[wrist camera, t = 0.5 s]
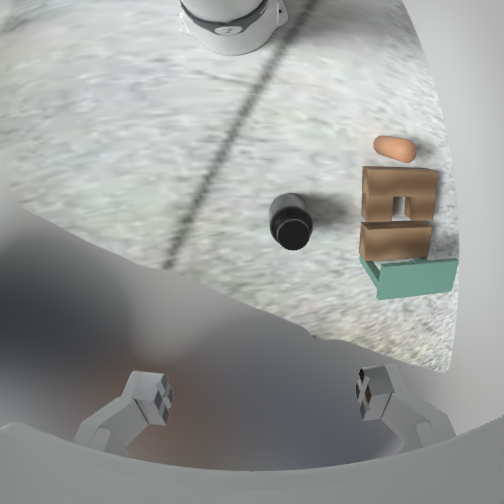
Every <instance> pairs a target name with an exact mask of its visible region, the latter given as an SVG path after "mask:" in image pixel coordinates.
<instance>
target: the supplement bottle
mask: <svg viewBox="0 0 504 504" xmlns="http://www.w3.org/2000/svg"><path fill="white" fill-rule="evenodd" d="M269 217H270V231H271V234H272V236H273V238H274V239H275V240H276V241H277V242H278V243H279V244H280V245H282V247H284V248H285V249H288V250H298V249H301V248H303V247H304V246H305V245H306V244H307V242H308V241H309V238H310V236H311V234H312V231H313V221H312V218H311V215H310V213H309V211H308V209H307V206H306V204H305V203H304V201H303V200H302V199H301V198H300V197H298V196H296V195H294V194H283V195H280V196H278V197H277V198H276V199H275V200H274V201H273V202H272V204H271V206H270V211H269Z"/></svg>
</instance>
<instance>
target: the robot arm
mask: <svg viewBox="0 0 504 504" xmlns="http://www.w3.org/2000/svg"><path fill="white" fill-rule="evenodd" d="M180 7H182V13H180V18H181V19H180V24H179V29H180V31H181V32H182V33H184V34H186V35H189V36H192V37H194V38H195V39H196V40H197V41H198V42H199V43H200V44H201V45H202V46H203V47H205V48H206V49H208V50H210V51H212V52H214V53H217V54H221V55H241V54H245V53H248V52H251V51H253V50H255V49H257V48H259V47H260V46H262V45H263V44H264V43H265V42H266V41H267V40H268V39H269V38H270V36H271V35H272V33H273V32H274V31H275V29H276V28H278V27H280V26H282V25H283V24H285V23H286V22H287V21H288V13H287V11H286V8H285V5H284V3H283V0H180ZM279 11H282V13H279ZM359 376H360V379H359V380H358V381H357V383H356V397H357V401H358V402H359V403H361V406H360V413H361V417H362V420H363V421H366V420H373V419H379V418H381V419H382V420H383V422H385V423H386V424H387V425H388V426H389V427H390V428H391V429H392V430H393V431H394V432H395V433H396V434H397V435H398V436H399V437H400V438H401V439H402V440H403V441H405V442H406V443H405V444H404V446H403V447H402V449H401V450H400V452H399V453H398V454H396V455H392V456H388V457H383V458H379V459H374V460H369V461H364V462H358V463H352V464H346V465H339V466H332V467H323V468H314V469H304V470H303V469H302V470H289V471H223V470H207V469H197V468H187V467H178V466H172V465H164V464H158V463H153V462H147V461H141V460H137V459H132V458H131V457H130V455H129V454H128V453H127V452H126V450H125V449H124V448H125V447H126V446H127V445H128V444H129V443H130V442H131V441H132V440H133V439H134V438H135V437H136V436H137V435H138V434H139V433H140V432H142V430H143V429H145V428H146V427H147V426H148V424H158V425H166V424H167V420H168V417H169V412H168V410H167V409H168V408H170V407H171V406H172V402H173V390H172V388H171V386H170V385H169V384H168V377H167V375H166V374H159V373H149V372H140V371H133V372H132V373H131V375H130V378H129V380H128V382H127V384H126V386H125V389H124V391H123V393H122V396H121V397H117V398H116V399H115V400H113V401H112V402H110V403H109V404H107V405H106V406H105V407H103V408H102V409H100V410H99V411H97V412H96V413H95V414H93V415H92V416H90V417H89V418H88V419H86V420H85V421H83V422H82V423H81V426H80V428H79V430H78V432H77V434H76V436H75V438H74V441H73V443H72V442H69V441H67V440H64V439H61V438H58V437H55V436H53V435H50V434H47V433H45V432H42V431H40V430H37V429H35V428H33V427H30V426H28V425H26V424H23V423H21V422H18V421H14V422H11V423H9V424H7V425H5V426H3V427H1V428H0V504H504V415H503V416H501V417H499V418H497V419H495V420H493V421H491V422H489V423H486V424H484V425H482V426H480V427H477V428H475V429H473V430H470V431H468V432H465V433H463V434H460V435H457V436H456V434H455V432H454V430H453V427H452V425H451V423H450V420H449V418H448V416H447V414H445V413H444V412H442V411H441V410H439V409H437V408H436V407H435V406H433V405H432V404H430V403H429V402H427V401H426V400H424V399H423V398H421V397H420V396H418V395H417V394H415V393H414V392H413V391H411V390H406V387H405V385H404V382H403V380H402V378H401V375H400V373H399V371H398V369H397V366H396V364H394V363H391V364H385V365H378V366H371V367H365V368H361V369H360V371H359Z"/></svg>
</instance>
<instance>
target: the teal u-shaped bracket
mask: <svg viewBox="0 0 504 504" xmlns="http://www.w3.org/2000/svg"><path fill="white" fill-rule="evenodd" d="M413 260H414V261H415V262H402V263H389V264H381V268H380V271H379V269H378V268H377V267H376V265H375V264H374V262H373V261H364V259H363V258H362V256H361V255H360V262H361V264H362V265H363V267H364V268H365V270H366V272H367V273H368V275H369V276H370V278H371V280H372V281H373V283H374V285H375V286H376V288H377V296H376V297H377V299H378V300H385V299H394V298H403V297H411V296H419V295H427V294H435V293H442V292H449V291H452V287H453V283H454V279H455V275H456V271H457V266H458V262H459V260H457V259H456V258H452V259H440V260H428V259H427V258H426V257H422V258H413Z"/></svg>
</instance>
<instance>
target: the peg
mask: <svg viewBox="0 0 504 504" xmlns="http://www.w3.org/2000/svg"><path fill="white" fill-rule="evenodd" d="M374 149H375V151H376V152H377V153H378V154H380V155H383V156H386V157H389V158H392V159H395V160H398V161H401V162H404V163H409V162H411V161H413V160H414V158H415V156H416V147H415V145H414V144H413V143H412V142H411V141H410V140H406V139H400V138H394V137H388V136H378V137H377V138H376V139H375V141H374Z"/></svg>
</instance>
